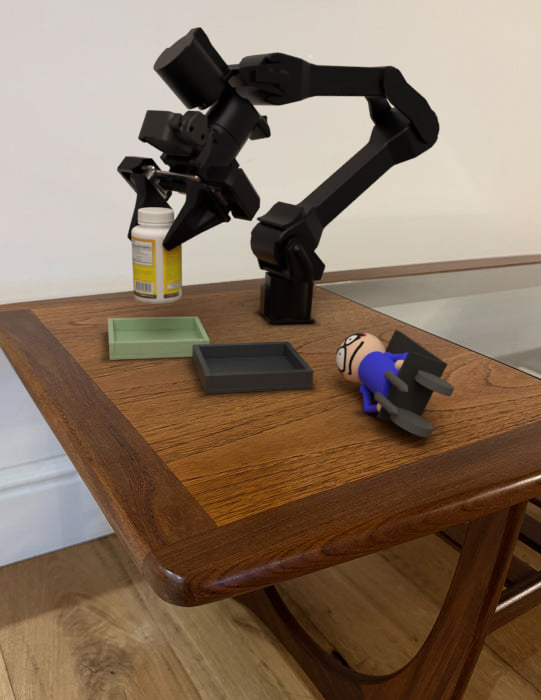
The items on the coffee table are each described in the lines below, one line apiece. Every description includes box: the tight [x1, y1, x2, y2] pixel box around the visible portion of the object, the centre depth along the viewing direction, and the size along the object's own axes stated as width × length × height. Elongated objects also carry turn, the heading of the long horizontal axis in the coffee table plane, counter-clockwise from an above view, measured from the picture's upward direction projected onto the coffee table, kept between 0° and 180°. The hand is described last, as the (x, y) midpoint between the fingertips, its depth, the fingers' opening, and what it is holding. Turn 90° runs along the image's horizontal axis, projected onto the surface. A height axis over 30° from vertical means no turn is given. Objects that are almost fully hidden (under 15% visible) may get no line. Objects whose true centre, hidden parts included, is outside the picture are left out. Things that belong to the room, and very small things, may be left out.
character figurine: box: [335, 329, 455, 438], centre depth 58 cm, size 8×7×15 cm
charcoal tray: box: [191, 341, 314, 395], centre depth 66 cm, size 11×9×2 cm
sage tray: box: [107, 315, 211, 361], centre depth 74 cm, size 11×9×2 cm
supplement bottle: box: [131, 207, 183, 305], centre depth 70 cm, size 6×6×10 cm
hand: (147, 244), depth 68 cm, fingers closed on supplement bottle, 5 cm apart
